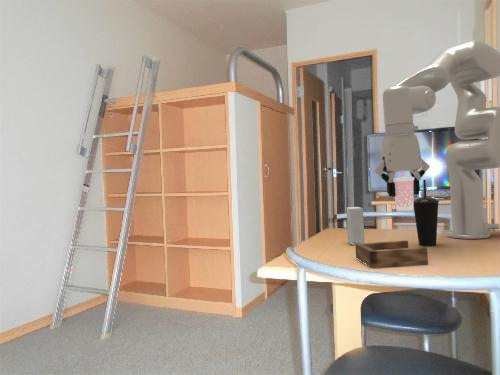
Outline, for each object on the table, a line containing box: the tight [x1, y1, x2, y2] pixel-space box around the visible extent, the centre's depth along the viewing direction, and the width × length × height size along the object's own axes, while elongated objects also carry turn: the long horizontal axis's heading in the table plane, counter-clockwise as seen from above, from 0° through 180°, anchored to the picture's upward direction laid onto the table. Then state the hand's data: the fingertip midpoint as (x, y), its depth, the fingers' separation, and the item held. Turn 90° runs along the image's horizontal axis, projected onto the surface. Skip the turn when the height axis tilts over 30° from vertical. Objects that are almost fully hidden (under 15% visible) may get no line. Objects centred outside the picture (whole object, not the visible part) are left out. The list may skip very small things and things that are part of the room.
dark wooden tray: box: [354, 240, 429, 269], centre depth 102 cm, size 14×12×4 cm
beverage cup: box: [393, 172, 415, 212], centre depth 111 cm, size 6×6×14 cm
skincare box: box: [346, 206, 366, 246], centre depth 129 cm, size 6×4×12 cm
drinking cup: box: [413, 179, 440, 247], centre depth 120 cm, size 8×8×20 cm
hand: (403, 194), depth 111 cm, fingers closed on beverage cup, 6 cm apart
